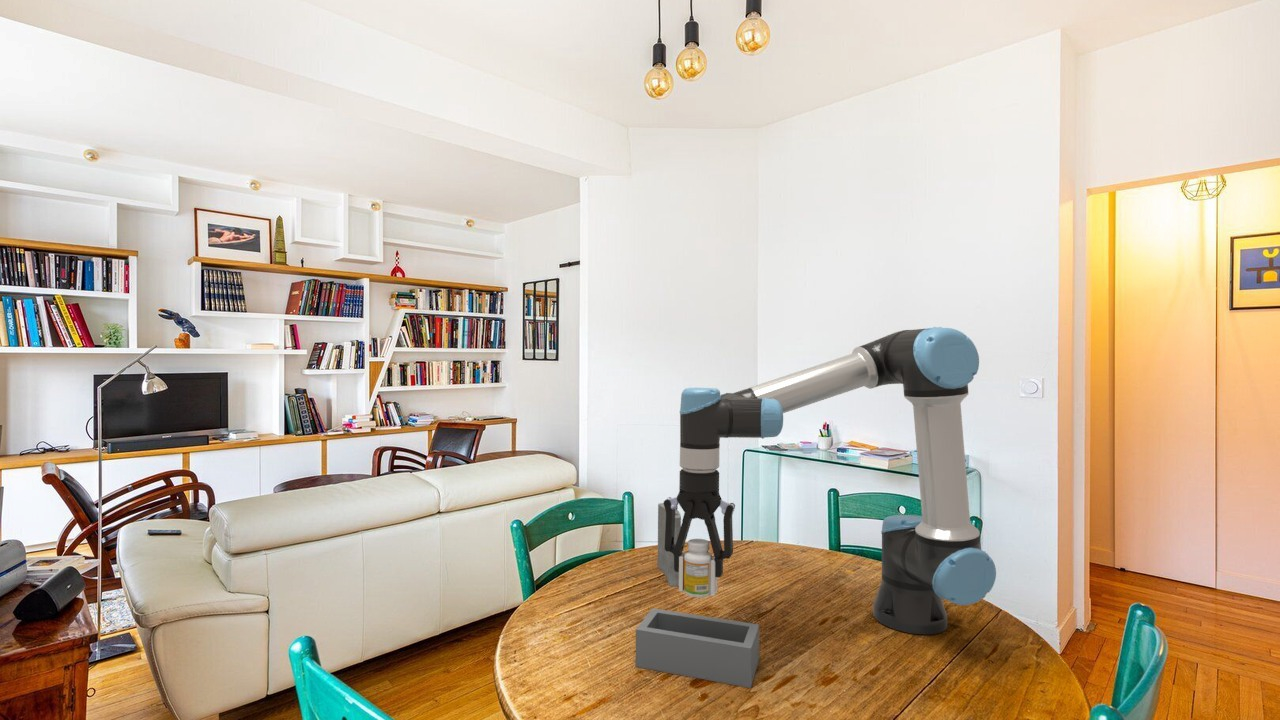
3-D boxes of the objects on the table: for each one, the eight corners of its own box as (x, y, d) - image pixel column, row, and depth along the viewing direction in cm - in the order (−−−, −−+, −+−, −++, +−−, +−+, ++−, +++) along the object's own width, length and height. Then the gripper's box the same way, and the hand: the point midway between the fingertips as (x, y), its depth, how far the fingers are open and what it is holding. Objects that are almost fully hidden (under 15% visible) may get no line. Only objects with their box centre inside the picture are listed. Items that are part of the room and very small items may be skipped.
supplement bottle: (694, 585, 118) (694, 535, 118) (717, 592, 115) (718, 541, 115) (678, 593, 114) (678, 541, 114) (701, 600, 110) (702, 547, 110)
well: (758, 660, 116) (759, 624, 116) (750, 688, 106) (751, 648, 106) (652, 642, 123) (652, 608, 123) (635, 666, 113) (635, 629, 113)
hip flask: (656, 565, 168) (657, 494, 168) (670, 564, 169) (671, 493, 169) (669, 586, 153) (670, 508, 153) (685, 586, 153) (685, 507, 153)
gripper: (751, 469, 115) (749, 590, 115) (658, 462, 121) (657, 578, 121) (744, 476, 108) (743, 605, 108) (647, 469, 114) (645, 591, 114)
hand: (698, 590), depth 114 cm, fingers closed on supplement bottle, 5 cm apart
